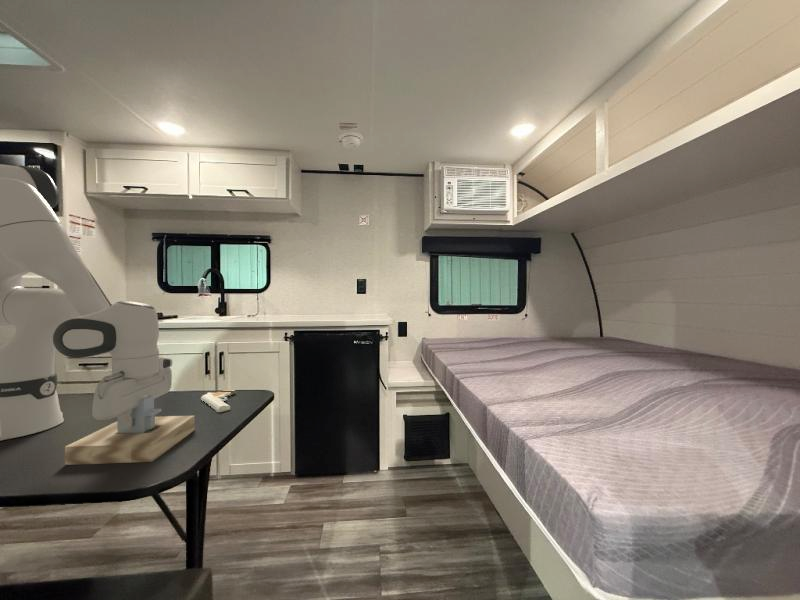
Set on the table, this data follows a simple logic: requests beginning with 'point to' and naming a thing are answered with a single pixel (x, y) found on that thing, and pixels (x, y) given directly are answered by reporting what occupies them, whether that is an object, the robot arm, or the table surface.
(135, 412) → the block
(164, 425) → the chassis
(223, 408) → the pistol
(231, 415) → the table surface
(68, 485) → the table surface
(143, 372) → the robot arm
